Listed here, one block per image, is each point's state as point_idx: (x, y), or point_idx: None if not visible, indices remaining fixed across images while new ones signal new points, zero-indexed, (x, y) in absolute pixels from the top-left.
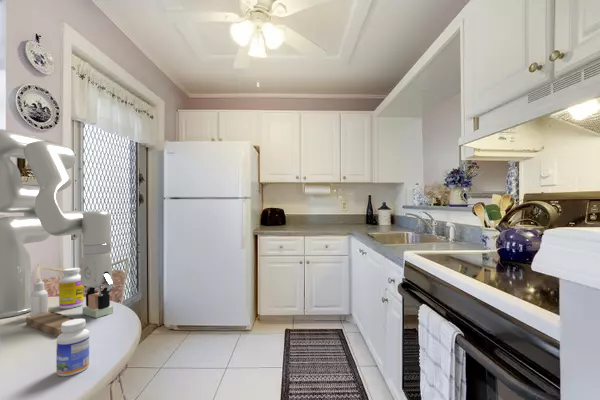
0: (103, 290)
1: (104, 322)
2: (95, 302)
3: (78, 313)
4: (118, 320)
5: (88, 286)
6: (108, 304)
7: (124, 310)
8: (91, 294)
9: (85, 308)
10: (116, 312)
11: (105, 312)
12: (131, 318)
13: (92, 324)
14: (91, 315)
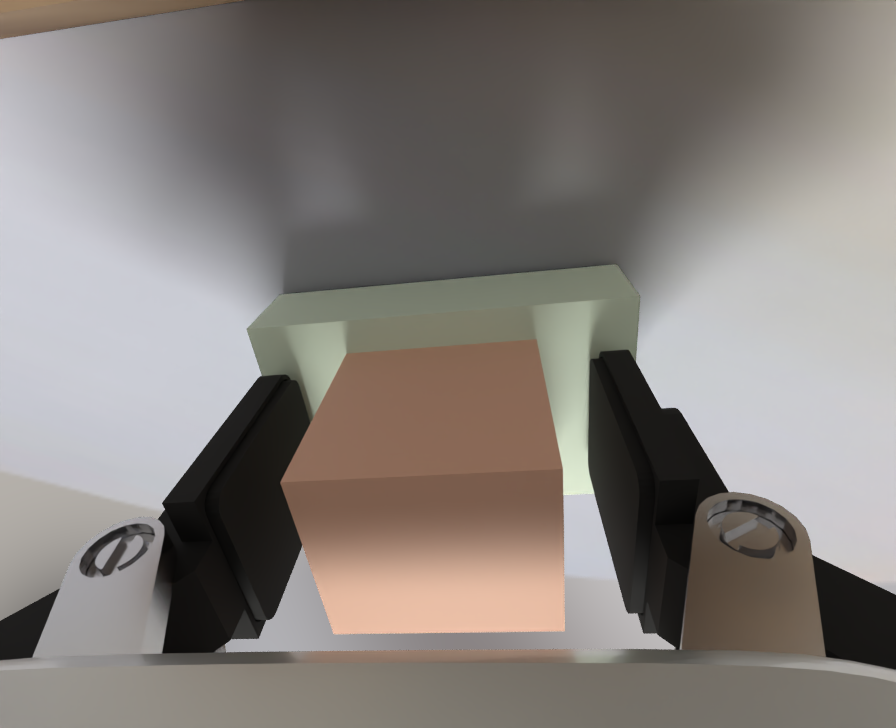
0: (24, 656)
1: (45, 283)
2: (321, 414)
3: (722, 249)
4: (19, 381)
5: (334, 658)
6: None
7: None
8: (541, 512)
9: (544, 304)
10: None
11: None
12: (4, 459)
13: (60, 176)
14: (386, 289)
